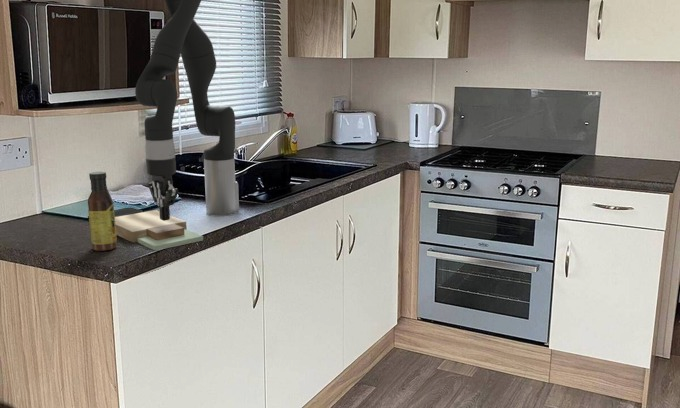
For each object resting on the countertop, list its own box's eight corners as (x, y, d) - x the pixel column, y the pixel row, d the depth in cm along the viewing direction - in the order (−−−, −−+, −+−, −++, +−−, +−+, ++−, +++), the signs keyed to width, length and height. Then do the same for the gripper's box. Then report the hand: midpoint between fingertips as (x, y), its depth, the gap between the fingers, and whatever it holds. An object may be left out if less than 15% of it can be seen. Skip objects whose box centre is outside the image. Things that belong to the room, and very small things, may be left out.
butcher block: (156, 219, 205) (155, 210, 205) (186, 231, 192) (186, 221, 192) (104, 229, 195) (103, 219, 194) (133, 242, 182) (132, 231, 181)
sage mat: (184, 232, 191) (184, 228, 191) (203, 240, 184) (203, 236, 184) (137, 242, 182) (137, 238, 182) (155, 250, 175) (155, 246, 175)
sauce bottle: (119, 249, 176) (113, 173, 171) (94, 253, 173) (87, 176, 168) (114, 243, 181) (108, 169, 177) (89, 246, 178) (82, 171, 174)
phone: (143, 210, 213) (100, 220, 202) (143, 214, 213) (100, 223, 202) (129, 207, 218) (85, 215, 207) (129, 210, 218) (86, 219, 207)
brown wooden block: (173, 230, 189) (173, 223, 189) (184, 234, 185) (184, 227, 184) (146, 235, 184) (146, 228, 183) (157, 240, 180) (156, 233, 179)
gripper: (185, 157, 177) (189, 222, 182) (161, 151, 187) (165, 212, 191) (159, 161, 172) (164, 227, 177) (135, 154, 182) (140, 217, 186)
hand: (165, 219), depth 184 cm, fingers closed
